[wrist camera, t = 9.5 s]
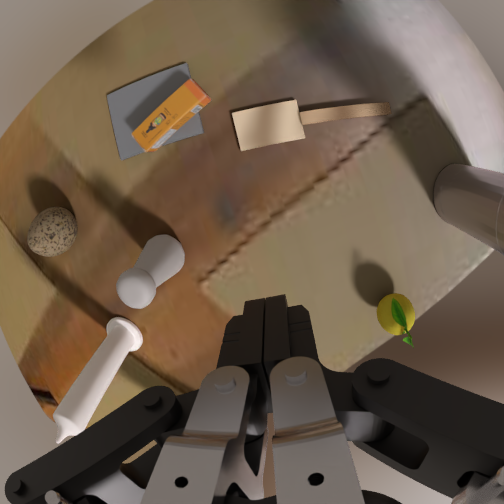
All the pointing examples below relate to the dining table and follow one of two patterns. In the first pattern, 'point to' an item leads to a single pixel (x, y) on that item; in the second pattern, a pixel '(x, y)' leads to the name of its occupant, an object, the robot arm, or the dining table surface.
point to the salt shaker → (150, 271)
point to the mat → (147, 108)
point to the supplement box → (170, 116)
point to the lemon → (396, 315)
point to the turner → (292, 121)
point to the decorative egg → (52, 232)
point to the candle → (96, 377)
